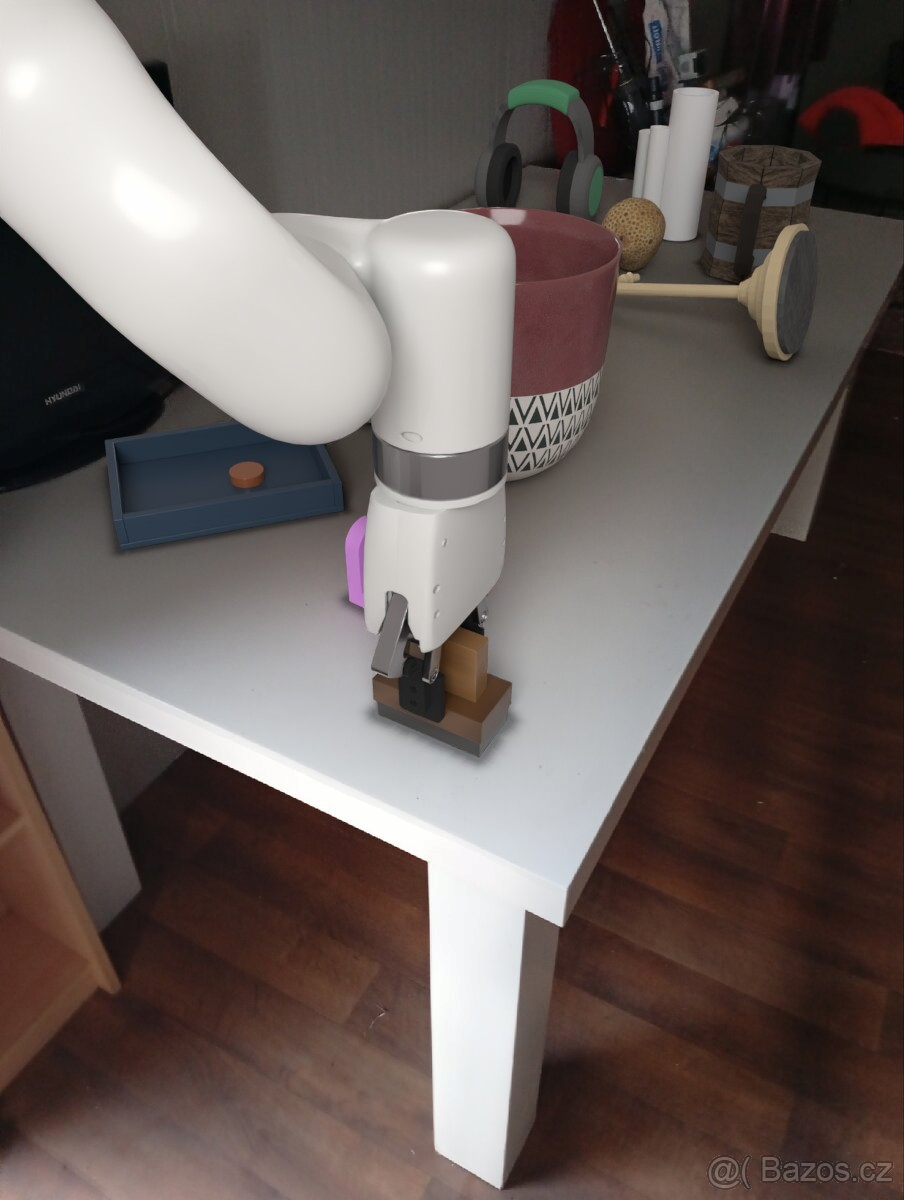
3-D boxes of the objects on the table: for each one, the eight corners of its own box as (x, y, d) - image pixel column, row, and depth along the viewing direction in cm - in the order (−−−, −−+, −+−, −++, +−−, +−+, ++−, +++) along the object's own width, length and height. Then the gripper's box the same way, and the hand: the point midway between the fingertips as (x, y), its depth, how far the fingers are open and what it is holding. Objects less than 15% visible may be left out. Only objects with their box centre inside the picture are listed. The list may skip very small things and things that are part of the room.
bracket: (403, 628, 73) (400, 555, 69) (349, 601, 76) (343, 528, 72) (499, 550, 81) (502, 480, 77) (448, 528, 84) (448, 459, 80)
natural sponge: (614, 285, 131) (622, 210, 125) (583, 265, 138) (590, 192, 131) (670, 277, 134) (681, 203, 128) (638, 257, 140) (646, 186, 134)
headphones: (602, 218, 155) (616, 80, 143) (582, 237, 147) (594, 93, 135) (495, 204, 161) (499, 71, 149) (469, 222, 153) (471, 83, 141)
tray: (121, 550, 81) (113, 520, 79) (111, 468, 92) (104, 439, 90) (344, 510, 86) (341, 481, 84) (310, 436, 97) (307, 409, 95)
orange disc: (233, 490, 88) (231, 481, 87) (228, 473, 90) (226, 464, 90) (267, 484, 89) (266, 475, 88) (261, 468, 91) (260, 459, 90)
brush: (374, 715, 66) (367, 627, 61) (407, 677, 69) (404, 590, 64) (480, 760, 63) (483, 671, 58) (510, 719, 66) (515, 630, 61)
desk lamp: (828, 214, 111) (530, 219, 132) (729, 259, 86) (380, 256, 107) (815, 342, 118) (534, 328, 139) (720, 419, 93) (393, 387, 114)
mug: (707, 248, 143) (725, 140, 134) (800, 259, 140) (825, 149, 130) (684, 292, 129) (702, 175, 120) (786, 306, 125) (814, 186, 116)
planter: (498, 400, 104) (505, 194, 90) (639, 467, 92) (671, 244, 79) (357, 460, 93) (342, 238, 80) (496, 545, 82) (505, 303, 69)
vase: (702, 231, 150) (724, 89, 137) (687, 244, 145) (710, 98, 132) (633, 220, 154) (650, 82, 142) (618, 233, 149) (633, 90, 137)
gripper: (456, 379, 60) (455, 604, 71) (293, 504, 48) (323, 749, 60) (565, 406, 57) (545, 637, 68) (419, 546, 46) (425, 796, 57)
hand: (442, 687), depth 64 cm, fingers closed on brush, 4 cm apart
